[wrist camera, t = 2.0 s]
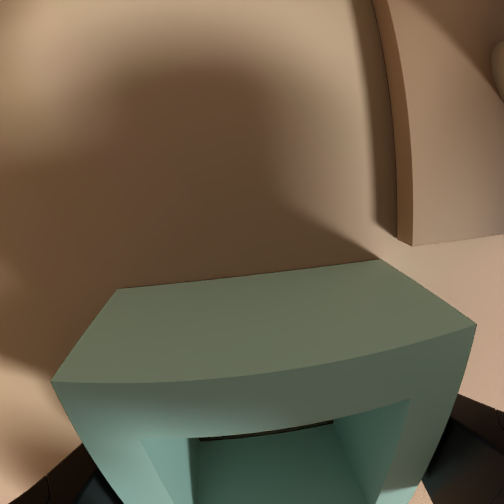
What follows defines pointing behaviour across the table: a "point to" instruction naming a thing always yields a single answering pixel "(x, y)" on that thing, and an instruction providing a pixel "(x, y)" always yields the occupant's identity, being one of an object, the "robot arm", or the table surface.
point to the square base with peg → (446, 116)
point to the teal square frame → (268, 387)
